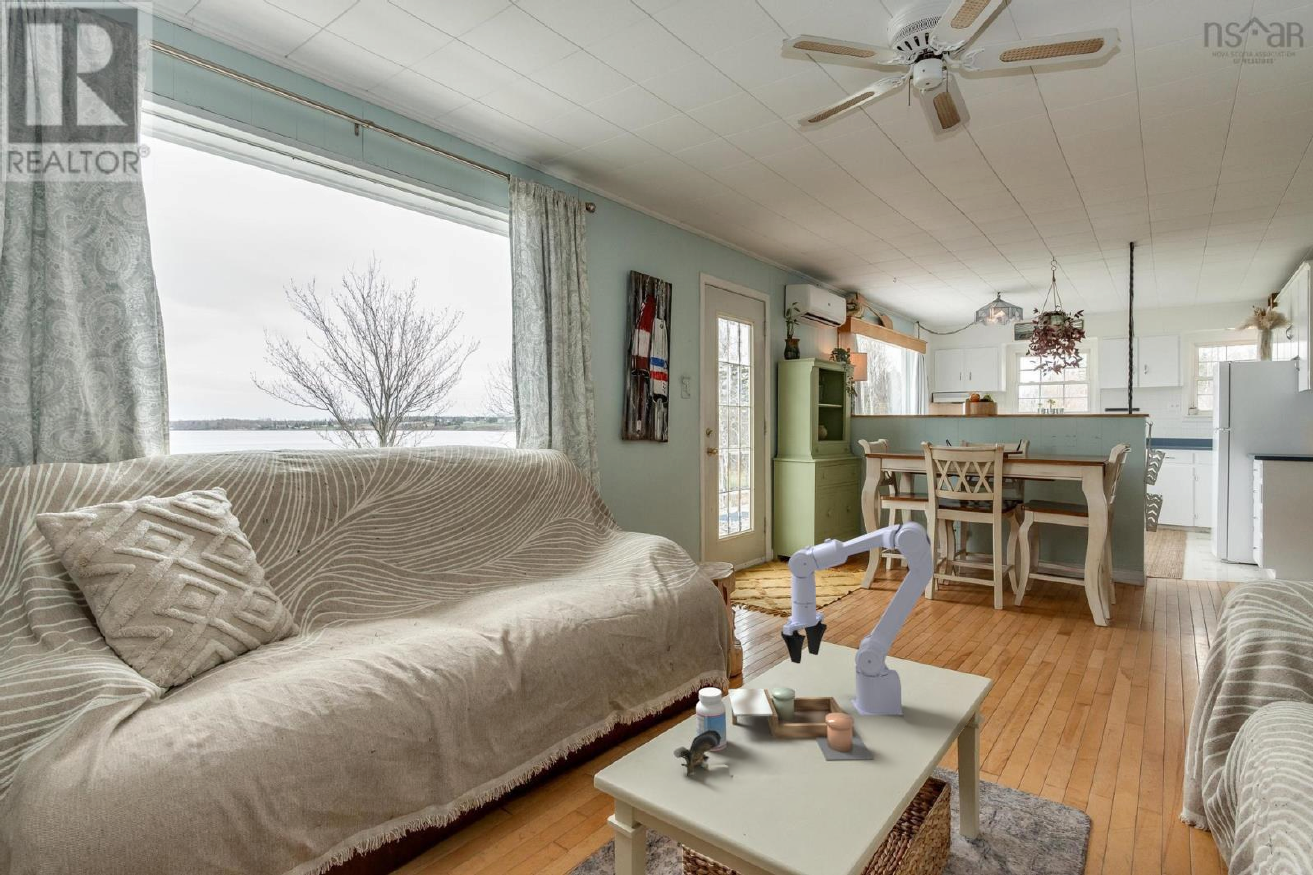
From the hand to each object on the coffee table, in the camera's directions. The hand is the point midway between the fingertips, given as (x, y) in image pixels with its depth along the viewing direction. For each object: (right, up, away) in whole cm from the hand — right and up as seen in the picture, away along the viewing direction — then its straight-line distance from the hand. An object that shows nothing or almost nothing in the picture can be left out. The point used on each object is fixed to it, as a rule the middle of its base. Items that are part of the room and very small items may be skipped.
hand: (804, 658), depth 153 cm
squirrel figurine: (-27, -11, -30) cm, 42 cm away
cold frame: (-7, -10, -13) cm, 18 cm away
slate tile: (+2, -10, -25) cm, 27 cm away
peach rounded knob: (+1, -9, -24) cm, 26 cm away
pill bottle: (-24, -11, -22) cm, 34 cm away
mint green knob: (-7, -10, -10) cm, 15 cm away
